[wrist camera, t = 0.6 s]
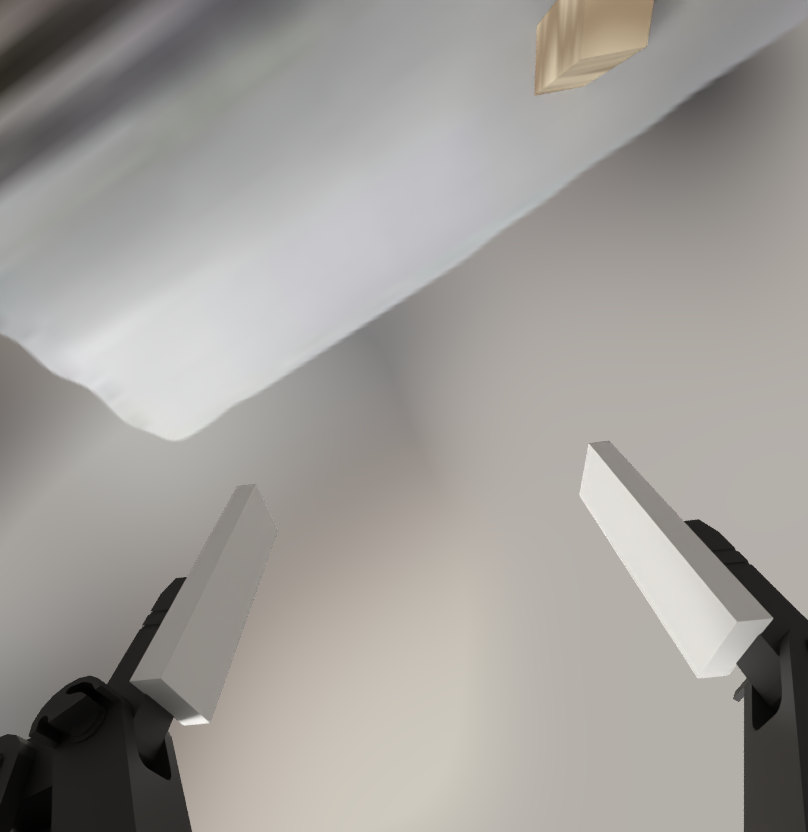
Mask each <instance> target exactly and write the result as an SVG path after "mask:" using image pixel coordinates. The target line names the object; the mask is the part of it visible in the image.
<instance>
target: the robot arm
mask: <svg viewBox="0 0 808 832" xmlns="http://www.w3.org/2000/svg"><path fill="white" fill-rule="evenodd" d="M579 496H580V497H581V499H582V500H583V502H584V503H585V505H586V506H587V508H588V510H589V511H590V513H591V514H592V516H593V517H594V519H595V520H596V522H597V523H598V525H599V527H600V528H601V530H602V531H603V533H604V534H605V536H606V537H607V539H608V541H609V542H610V544H611V545H612V547H613V548H614V550H615V551H616V553H617V554H618V556H619V557H620V559H621V561H622V562H623V564H624V565H625V567H626V568H627V570H628V571H629V573H630V574H631V576H632V578H633V579H634V581H635V582H636V584H637V585H638V587H639V588H640V590H641V592H642V593H643V594H644V596H645V598H646V599H647V601H648V602H649V604H650V605H651V607H652V608H653V610H654V612H655V613H656V615H657V616H658V618H659V619H660V621H661V622H662V624H663V625H664V627H665V629H666V630H667V632H668V633H669V635H670V636H671V638H672V639H673V641H674V643H675V644H676V646H677V647H678V649H679V650H680V652H681V653H682V655H683V656H684V658H685V660H686V661H687V663H688V664H689V666H690V667H691V669H692V670H693V672H694V673H695V675H696V676H697V678H707V677H718V676H728V675H729V674H730V672H731V671H732V670H733V669H734V667H735V666H736V665H738V667H739V668H740V669H741V670H742V672H743V673H744V675H745V676H746V677H747V679H746V680H745V681H744V682H743V683H742V684H741V686H740V687H739V688H738V689H737V690H736V691H735V694H734V698H733V699H734V700H736V701H738V702H739V701H740V700H741V699H742V698H743V697H744V832H808V620H807V619H806V618H805V617H804V616H803V615H802V614H801V613H800V612H799V611H798V610H797V609H796V608H795V607H794V606H793V605H792V604H791V603H790V602H789V601H788V600H787V599H786V598H785V597H784V596H783V595H782V594H781V593H780V592H779V591H778V590H776V588H775V587H773V585H772V584H770V582H769V581H768V580H766V578H764V576H763V575H762V574H761V573H759V571H757V569H756V568H754V566H752V565H750V564H749V563H748V561H747V559H746V558H745V557H744V556H743V555H741V554H740V553H739V552H738V551H736V550H735V548H734V547H733V546H732V545H731V544H730V543H729V542H728V541H727V540H726V539H725V538H724V537H723V536H722V535H721V534H720V533H719V532H718V531H716V530H715V529H713V528H712V527H710V526H708V525H707V524H705V523H704V522H702V521H700V520H690V521H683V520H682V519H681V518H680V517H679V516H678V515H677V514H676V512H675V511H674V510H673V509H672V508H671V507H670V506H669V505H668V504H667V503H666V502H665V501H664V499H662V497H661V496H660V495H659V494H658V493H657V492H656V491H655V490H654V489H653V488H652V487H651V486H650V484H649V483H648V482H647V481H646V480H645V479H644V478H643V477H642V476H641V475H640V474H639V473H638V471H636V469H635V468H634V467H633V466H632V465H631V464H630V463H629V462H628V461H627V459H626V458H625V457H624V456H623V455H622V454H621V453H620V452H619V451H618V450H617V449H616V448H615V447H614V445H613V444H612V443H611V442H610V441H603V442H595V443H589V445H588V451H587V456H586V462H585V467H584V472H583V478H582V483H581V489H580V495H579ZM277 532H278V529H277V527H276V525H275V523H274V521H273V519H272V516H271V514H270V512H269V510H268V509H267V506H266V504H265V502H264V500H263V498H262V496H261V493H260V491H259V489H258V487H257V485H256V484H251V485H242V486H237V488H236V489H235V491H234V493H233V495H232V497H231V499H230V500H229V502H228V504H227V506H226V508H225V509H224V511H223V513H222V515H221V517H220V518H219V520H218V522H217V524H216V526H215V527H214V529H213V531H212V533H211V535H210V536H209V538H208V540H207V542H206V544H205V546H204V547H203V549H202V551H201V553H200V555H199V557H198V558H197V560H196V562H195V564H194V565H193V567H192V569H191V571H190V573H189V575H188V577H184V578H176V579H175V580H174V581H173V582H172V583H171V584H170V585H169V586H168V587H167V588H166V589H165V590H164V591H163V592H162V594H161V595H160V597H159V598H158V600H157V601H156V603H155V605H154V606H153V608H152V610H151V614H150V615H148V616H147V618H146V620H145V622H144V623H143V625H142V629H140V630H139V632H138V633H137V635H136V637H135V638H134V640H133V642H132V643H131V645H130V647H129V648H128V650H127V652H126V653H125V655H124V657H123V658H122V660H121V662H120V663H119V665H118V667H117V668H116V670H115V672H114V673H113V675H112V677H111V679H110V680H109V682H108V684H107V685H106V684H105V683H104V682H102V681H101V680H100V679H98V678H96V677H93V676H87V677H82V678H79V679H77V680H75V681H73V682H72V683H70V684H68V685H66V686H65V687H64V688H62V689H61V690H60V691H59V692H57V693H56V694H55V695H54V696H53V697H52V698H51V699H50V700H49V701H48V702H47V703H46V704H45V706H44V707H43V708H42V709H41V711H40V712H39V714H38V715H37V717H36V718H35V720H34V722H33V723H32V726H31V730H30V733H29V737H31V738H30V739H28V740H25V739H23V738H21V737H19V736H17V735H10V734H7V735H4V736H1V737H0V832H192V830H191V825H190V820H189V816H188V811H187V807H186V802H185V797H184V792H183V788H182V784H181V779H180V774H179V769H178V765H177V760H176V755H175V751H174V746H173V741H172V737H171V736H170V734H169V732H168V729H169V727H170V724H171V722H172V720H173V717H174V718H175V719H176V720H178V721H179V722H180V723H181V724H182V725H193V724H204V723H210V722H211V719H212V716H213V713H214V710H215V708H216V705H217V702H218V699H219V696H220V694H221V691H222V688H223V685H224V682H225V679H226V677H227V674H228V671H229V668H230V665H231V662H232V659H233V657H234V654H235V651H236V648H237V645H238V643H239V640H240V637H241V634H242V631H243V628H244V626H245V623H246V620H247V617H248V614H249V611H250V608H251V606H252V603H253V600H254V597H255V594H256V591H257V588H258V586H259V583H260V580H261V577H262V574H263V571H264V569H265V566H266V563H267V560H268V557H269V554H270V551H271V549H272V546H273V543H274V540H275V537H276V534H277Z"/></svg>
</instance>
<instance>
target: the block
mask: <svg viewBox="0 0 808 832" xmlns="http://www.w3.org/2000/svg"><path fill="white" fill-rule="evenodd" d="M653 4H654V0H557V1H556V2H555V4H554V5H553V6H552V7H551V9H550V10H549V11H548V12H547V14H546V15H545V16H544V17H543V19H542V20H541V21H540V23H539V24H538V25H537V41H536V70H535V95H541V94H546V93H551V92H556V91H562V90H567V89H572V88H577V87H583V86H585V85H587V84H589V83H590V82H592V81H593V80H595V79H596V78H598V77H600V76H601V75H603V74H604V73H606V72H607V71H609V70H611V69H612V68H614V67H615V66H617V65H618V64H620V63H622V62H623V61H625V60H626V59H628V58H629V57H631V56H633V55H634V54H636V53H637V52H639V51H640V50H642V49H644V48H645V47H647V43H648V36H649V30H650V23H651V17H652V10H653Z"/></svg>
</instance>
